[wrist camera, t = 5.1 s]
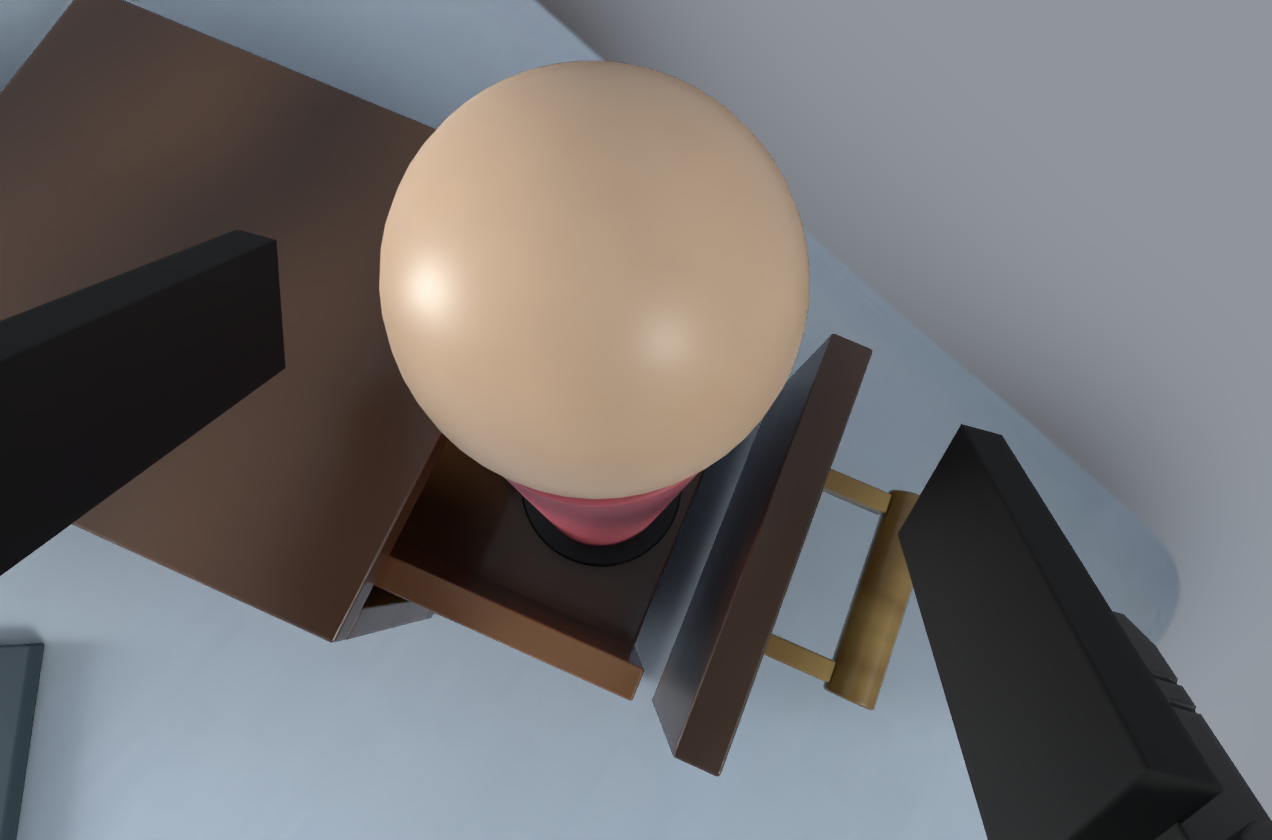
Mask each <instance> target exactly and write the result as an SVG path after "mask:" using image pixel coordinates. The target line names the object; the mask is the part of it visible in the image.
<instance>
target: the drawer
mask: <svg viewBox="0 0 1272 840" xmlns="http://www.w3.org/2000/svg"><path fill="white" fill-rule="evenodd" d="M871 355H872V350H871V349H870V348H867V347H865V346H862V345H860V344H858V343H855V342H853V341H850V340H848V339H845V338H843V337H841V336H838V335H836V334H832V335H831V336H830V337H829V338H828V339H827V340H826V341H825V342H824V343H823V344H822V345H821V346H820V347H819V348H818V350H817V351H816V352H815V353H814V354H813V355H812V356H811V357H810V358H809V359H808V360H807V361H806V362H805V363H804V364H803V365H802V366H801V367H800V368H799V369H798V370H797V371H796V373H795V374H794V375H793V376H792V377H791V378H790V379H789V380H788V381H787V382H786V383H785V385H784V387H783V389H782V390H781V392H780V393H779V395H778V396H777V398H776V399H775V401H774V402H773V404H772V405H771V407H770V409H769V410H768V412H767V413H766V414H765V416H764V417H763V419H762V422H761V424H760V427H759V429H758V432H757V434H756V437H755V439H754V442H753V444H752V447H751V450H750V452H749V455H748V457H747V460H746V462H745V465H744V467H743V470H742V472H741V475H740V478H739V480H738V483H737V485H736V488H735V490H734V493H733V495H732V498H731V500H730V503H729V506H728V508H727V511H726V513H725V516H724V518H723V521H722V523H721V526H720V528H719V531H718V534H717V536H716V539H715V541H714V544H713V546H712V549H711V551H710V554H709V556H708V559H707V562H706V564H705V567H704V569H703V572H702V574H701V577H700V579H699V582H698V584H697V587H696V590H695V592H694V595H693V597H692V600H691V602H690V605H689V607H688V610H687V612H686V615H685V618H684V620H683V623H682V625H681V628H680V630H679V633H678V635H677V638H676V640H675V643H674V646H673V648H672V651H671V653H670V656H669V658H668V661H667V663H666V666H665V668H664V671H663V674H662V676H661V679H660V681H659V684H658V686H657V689H656V691H655V694H654V696H653V699H652V701H653V704H654V707H655V709H656V712H657V715H658V717H659V720H660V722H661V725H662V728H663V730H664V733H665V736H666V738H667V741H668V744H669V746H670V749H671V751H672V754H673V756H674V757H675V758H677V759H679V760H682V761H684V762H686V763H688V764H690V765H693V766H695V767H697V768H699V769H701V770H704V771H706V772H708V773H710V774H713V775H715V776H720V774H721V772H722V769H723V766H724V764H725V761H726V758H727V755H728V752H729V750H730V747H731V744H732V741H733V739H734V736H735V733H736V730H737V727H738V725H739V722H740V719H741V716H742V714H743V711H744V708H745V705H746V702H747V700H748V697H749V694H750V691H751V688H752V686H753V683H754V680H755V677H756V675H757V672H758V669H759V666H760V663H761V661H762V658H763V655H766V656H768V657H771V658H773V659H775V660H777V661H780V662H782V663H784V664H786V665H789V666H791V667H793V668H796V669H798V670H800V671H802V672H805V673H807V674H809V675H811V676H814V677H816V678H818V679H820V680H823V681H825V682H824V685H823V687H824V689H825V690H827V691H829V692H831V693H833V694H835V695H837V696H840V697H842V698H844V699H846V700H848V701H850V702H853V703H855V704H857V705H859V706H862V707H864V708H866V709H869V710H874V708H875V705H876V702H877V699H878V696H879V692H880V689H881V686H882V683H883V680H884V677H885V673H886V670H887V667H888V664H889V661H890V658H891V654H892V651H893V648H894V645H895V642H896V638H897V635H898V632H899V629H900V626H901V623H902V619H903V616H904V613H905V610H906V607H907V603H908V600H909V597H910V594H911V591H912V588H913V585H912V581H911V578H910V574H909V571H908V568H907V564H906V561H905V558H904V554H903V551H902V547H901V544H900V541H899V537H898V532H899V531H900V529H901V527H902V526H903V524H904V522H905V520H906V519H907V517H908V515H909V514H910V512H911V510H912V508H913V507H914V505H915V503H916V501H917V500H918V498H919V496H920V495H917V494H914V493H911V492H907V491H901V490H891V491H889V492H888V493H887V492H884V491H882V490H879V489H877V488H875V487H872V486H870V485H868V484H865V483H863V482H861V481H858V480H856V479H854V478H851V477H849V476H847V475H844V474H842V473H840V472H837V471H835V470H833V469H831V466H832V463H833V460H834V458H835V455H836V452H837V449H838V447H839V444H840V441H841V438H842V435H843V433H844V430H845V427H846V424H847V422H848V419H849V416H850V413H851V410H852V408H853V405H854V402H855V399H856V396H857V394H858V391H859V388H860V385H861V383H862V380H863V377H864V374H865V371H866V369H867V366H868V363H869V360H870V358H871ZM705 470H706V469H704V470H702V471H701V472H699V473H698V474H697V475H696V476H695V477H694V478H693V479H692V480H691V481H690V482H689V483H688V485H687V486H686V487H685V488H684V489H683V490H682V493H681V500H680V505H679V509H678V512H677V515H676V517H675V519H674V521H673V524H672V526H671V527H670V529H669V530H668V532H667V533H666V535H665V536H664V537H663V538H662V539H661V540H660V542H659V543H658V544H656V545H655V546H654V547H653V548H652V549H651V550H649V551H648V552H646V553H645V554H643V555H642V556H640V557H638V558H636V559H634V560H632V561H629V562H626V563H623V564H620V565H614V566H605V567H597V566H588V565H583V564H579V563H576V562H574V561H571V560H568V559H567V558H565V557H563V556H561V555H559V554H558V553H556V552H555V551H553V550H552V549H551V548H549V547H548V546H547V545H546V544H545V543H544V542H543V541H542V540H541V538H540V537H539V536H538V535H537V534H536V532H535V530H534V529H533V527H532V526H531V524H530V522H529V519H528V517H527V515H526V512H525V508H524V505H523V499H522V494H521V493H520V492H519V491H518V490H517V489H516V488H514V487H513V486H512V485H511V484H510V483H509V482H508V481H507V480H506V479H505V478H504V477H503V476H501V475H499V474H497V473H495V472H493V471H491V470H489V469H487V468H486V467H484V466H482V465H481V464H479V463H478V462H477V461H475V460H474V459H472V458H471V457H469V456H468V455H467V454H465V453H464V452H462V451H461V450H460V449H459V448H458V447H457V446H456V445H454V444H453V443H452V442H451V441H450V440H449V439H448V440H447V442H446V444H445V446H444V448H443V450H442V452H441V454H440V456H439V458H438V460H437V462H436V464H435V466H434V468H433V470H432V472H431V474H430V476H429V478H428V480H427V482H426V484H425V486H424V488H423V489H422V491H421V493H420V495H419V497H418V499H417V501H416V503H415V505H414V507H413V509H412V511H411V513H410V515H409V517H408V519H407V521H406V523H405V525H404V527H403V529H402V531H401V533H400V535H399V537H398V538H397V540H396V542H395V544H394V546H393V548H392V550H391V552H390V554H389V556H388V558H387V560H386V562H385V564H384V566H383V568H382V570H381V572H380V574H379V576H378V578H377V580H376V582H375V584H374V586H377V587H379V588H381V589H383V590H385V591H388V592H390V593H392V594H394V595H396V596H399V597H401V598H403V599H405V600H408V601H410V602H412V603H414V604H416V605H419V606H421V607H423V608H425V609H428V610H430V611H432V612H434V613H436V614H439V615H441V616H443V617H445V618H448V619H450V620H452V621H454V622H456V623H459V624H461V625H463V626H465V627H468V628H470V629H472V630H474V631H476V632H479V633H481V634H483V635H485V636H487V637H490V638H492V639H494V640H496V641H499V642H501V643H503V644H505V645H507V646H510V647H512V648H514V649H516V650H519V651H521V652H523V653H525V654H527V655H530V656H532V657H534V658H536V659H539V660H541V661H543V662H545V663H547V664H550V665H552V666H554V667H556V668H559V669H561V670H563V671H565V672H567V673H570V674H572V675H574V676H576V677H579V678H581V679H583V680H585V681H587V682H590V683H592V684H594V685H596V686H598V687H601V688H603V689H605V690H607V691H610V692H612V693H614V694H616V695H618V696H621V697H623V698H625V699H627V700H632V699H633V697H634V695H635V692H636V690H637V687H638V685H639V682H640V680H641V677H642V675H643V672H644V668H643V666H642V663H641V661H640V658H639V656H638V654H637V651H636V649H635V646H634V645H635V642H636V640H637V637H638V635H639V632H640V630H641V627H642V625H643V622H644V620H645V617H646V615H647V613H648V610H649V608H650V605H651V603H652V600H653V598H654V595H655V593H656V590H657V588H658V586H659V583H660V581H661V578H662V576H663V573H664V571H665V568H666V566H667V563H668V561H669V558H670V556H671V554H672V551H673V549H674V546H675V544H676V541H677V539H678V536H679V534H680V531H681V529H682V527H683V524H684V522H685V519H686V517H687V514H688V512H689V509H690V507H691V504H692V502H693V499H694V497H695V495H696V492H697V490H698V487H699V485H700V482H701V480H702V477H703V475H704V472H705ZM822 491H823V492H826V493H828V494H830V495H833V496H835V497H837V498H840V499H842V500H844V501H847V502H849V503H851V504H854V505H856V506H858V507H861V508H863V509H865V510H868V511H870V512H873V513H875V514H881V515H880V518H879V521H878V524H877V527H876V530H875V533H874V536H873V539H872V542H871V545H870V548H869V551H868V554H867V557H866V560H865V563H864V566H863V569H862V572H861V575H860V578H859V581H858V584H857V587H856V590H855V593H854V596H853V599H852V602H851V605H850V608H849V611H848V614H847V617H846V620H845V623H844V626H843V629H842V632H841V635H840V638H839V641H838V644H837V647H836V650H835V653H834V656H833V659H832V660H831V659H829V658H826V657H824V656H822V655H819V654H817V653H815V652H813V651H810V650H808V649H806V648H804V647H801V646H799V645H797V644H795V643H792V642H790V641H788V640H785V639H783V638H781V637H779V636H776V635H774V634H772V630H773V627H774V625H775V622H776V619H777V616H778V613H779V611H780V608H781V605H782V602H783V599H784V597H785V594H786V591H787V588H788V586H789V583H790V580H791V577H792V574H793V572H794V569H795V566H796V563H797V561H798V558H799V555H800V552H801V549H802V547H803V544H804V541H805V538H806V536H807V533H808V530H809V527H810V524H811V522H812V519H813V516H814V513H815V511H816V508H817V505H818V502H819V499H820V497H821V494H822Z"/></svg>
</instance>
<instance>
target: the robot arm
mask: <svg viewBox="0 0 1272 840" xmlns="http://www.w3.org/2000/svg"><path fill="white" fill-rule="evenodd" d="M285 368H286V366H285V352H284V338H283V324H282V310H281V296H280V282H279V268H278V255H277V241H276V240H275V239H272V238H268V237H264V236H261V235H257V234H253V233H249V232H246V231H242V230H238V229H236V230H233V231H231V232H228V233H226V234H223V235H221V236H218V237H215V238H213V239H210V240H208V241H205V242H202V243H200V244H197V245H195V246H192V247H190V248H187V249H184V250H182V251H179V252H177V253H174V254H172V255H169V256H166V257H164V258H161V259H159V260H156V261H153V262H151V263H148V264H146V265H143V266H141V267H138V268H135V269H133V270H130V271H128V272H125V273H122V274H120V275H117V276H115V277H112V278H110V279H107V280H104V281H102V282H99V283H97V284H94V285H92V286H89V287H86V288H84V289H81V290H79V291H76V292H73V293H71V294H68V295H66V296H63V297H61V298H58V299H55V300H53V301H50V302H48V303H45V304H43V305H40V306H37V307H35V308H32V309H30V310H27V311H24V312H22V313H19V314H17V315H14V316H12V317H9V318H6V319H4V320H1V321H0V576H1V575H2V574H3V573H5V572H6V571H8V570H9V569H10V568H12V567H13V566H14V565H16V564H17V563H19V562H20V561H21V560H23V559H24V558H25V557H27V556H28V555H30V554H31V553H32V552H34V551H35V550H36V549H38V548H39V547H41V546H42V545H43V544H45V543H46V542H47V541H49V540H50V539H52V538H53V537H54V536H56V535H57V534H58V533H60V532H61V531H62V530H64V529H65V528H67V527H68V526H69V525H71V524H72V523H73V522H75V521H76V520H78V519H79V518H80V517H82V516H83V515H84V514H86V513H87V512H89V511H90V510H91V509H93V508H94V507H95V506H97V505H98V504H100V503H101V502H102V501H104V500H105V499H106V498H108V497H109V496H111V495H112V494H113V493H115V492H116V491H117V490H119V489H120V488H122V487H123V486H124V485H126V484H127V483H128V482H130V481H131V480H133V479H134V478H135V477H137V476H138V475H139V474H141V473H142V472H144V471H145V470H146V469H148V468H149V467H150V466H152V465H153V464H155V463H156V462H157V461H159V460H160V459H161V458H163V457H164V456H165V455H167V454H168V453H170V452H171V451H172V450H174V449H175V448H176V447H178V446H179V445H181V444H182V443H183V442H185V441H186V440H187V439H189V438H190V437H192V436H193V435H194V434H196V433H197V432H198V431H200V430H201V429H203V428H204V427H205V426H207V425H208V424H209V423H211V422H212V421H214V420H215V419H216V418H218V417H219V416H220V415H222V414H223V413H225V412H226V411H227V410H229V409H230V408H231V407H233V406H234V405H236V404H237V403H238V402H240V401H241V400H242V399H244V398H245V397H247V396H248V395H249V394H251V393H252V392H253V391H255V390H256V389H257V388H259V387H260V386H262V385H263V384H264V383H266V382H267V381H268V380H270V379H271V378H273V377H274V376H275V375H277V374H278V373H279V372H281V371H282V370H284V369H285ZM898 537H899V541H900V544H901V547H902V551H903V554H904V558H905V561H906V564H907V568H908V571H909V574H910V578H911V581H912V585H913V588H914V591H915V595H916V598H917V602H918V605H919V608H920V612H921V615H922V618H923V622H924V625H925V629H926V632H927V635H928V639H929V642H930V645H931V649H932V652H933V656H934V659H935V662H936V666H937V669H938V673H939V676H940V679H941V683H942V686H943V689H944V693H945V696H946V700H947V703H948V706H949V710H950V713H951V716H952V720H953V723H954V727H955V730H956V733H957V737H958V740H959V743H960V747H961V750H962V754H963V757H964V760H965V764H966V767H967V771H968V774H969V777H970V781H971V784H972V787H973V791H974V794H975V798H976V801H977V804H978V808H979V811H980V814H981V818H982V821H983V825H984V828H985V831H986V835H987V838H988V840H1272V821H1271V820H1270V818H1269V817H1268V815H1267V814H1266V812H1265V811H1264V809H1263V808H1262V806H1261V804H1260V803H1259V801H1258V800H1257V799H1256V797H1255V795H1254V794H1253V792H1252V791H1251V789H1250V788H1249V787H1248V785H1247V783H1246V782H1245V780H1244V779H1243V777H1242V776H1241V774H1240V773H1239V772H1238V770H1237V768H1236V767H1235V765H1234V764H1233V762H1232V761H1231V759H1230V758H1229V756H1228V755H1227V753H1226V752H1225V750H1224V749H1223V747H1222V746H1221V744H1220V742H1219V741H1218V740H1217V738H1216V736H1215V735H1214V734H1213V732H1212V730H1211V729H1210V727H1209V726H1208V724H1207V723H1206V721H1205V720H1204V718H1203V717H1202V716H1201V714H1197V713H1196V712H1195V708H1196V706H1195V705H1194V703H1193V702H1192V700H1191V699H1190V697H1189V696H1188V694H1187V693H1186V691H1185V690H1184V688H1183V687H1182V686H1180V685H1177V677H1176V676H1175V674H1174V673H1173V671H1172V670H1171V668H1170V667H1169V665H1168V664H1167V662H1166V661H1165V659H1164V658H1163V657H1162V655H1161V654H1160V652H1159V650H1158V649H1157V647H1156V646H1155V645H1154V644H1153V643H1152V642H1151V641H1150V640H1149V639H1148V638H1147V637H1146V636H1145V635H1144V634H1143V633H1142V632H1141V631H1140V630H1139V629H1138V628H1137V627H1136V626H1135V625H1134V624H1133V623H1132V622H1131V621H1130V620H1129V619H1128V618H1127V617H1126V616H1125V615H1124V614H1120V613H1117V612H1113V611H1112V610H1111V609H1110V607H1109V605H1108V604H1107V602H1106V601H1105V599H1104V597H1103V596H1102V594H1101V593H1100V591H1099V589H1098V588H1097V586H1096V585H1095V583H1094V582H1093V580H1092V578H1091V577H1090V575H1089V574H1088V572H1087V570H1086V569H1085V567H1084V566H1083V564H1082V562H1081V561H1080V559H1079V558H1078V556H1077V554H1076V553H1075V551H1074V550H1073V548H1072V546H1071V545H1070V543H1069V542H1068V540H1067V538H1066V537H1065V535H1064V534H1063V532H1062V530H1061V529H1060V527H1059V526H1058V524H1057V522H1056V521H1055V519H1054V518H1053V516H1052V514H1051V513H1050V511H1049V510H1048V508H1047V506H1046V505H1045V503H1044V502H1043V500H1042V498H1041V497H1040V495H1039V494H1038V492H1037V490H1036V489H1035V487H1034V486H1033V484H1032V482H1031V481H1030V479H1029V478H1028V476H1027V475H1026V473H1025V471H1024V470H1023V468H1022V467H1021V465H1020V463H1019V462H1018V460H1017V459H1016V457H1015V455H1014V454H1013V452H1012V451H1011V449H1010V447H1009V446H1008V444H1007V443H1006V441H1005V439H1004V438H1003V436H1002V435H999V434H996V433H992V432H988V431H985V430H981V429H977V428H973V427H970V426H966V425H962V424H961V426H960V427H959V429H958V431H957V433H956V434H955V436H954V438H953V440H952V441H951V443H950V445H949V446H948V448H947V450H946V452H945V453H944V455H943V457H942V458H941V460H940V462H939V464H938V465H937V467H936V469H935V471H934V472H933V474H932V476H931V477H930V479H929V481H928V483H927V484H926V486H925V488H924V489H923V491H922V493H921V495H920V496H919V498H918V500H917V501H916V503H915V505H914V507H913V508H912V510H911V512H910V514H909V515H908V517H907V519H906V520H905V522H904V524H903V526H902V527H901V529H900V531H899V532H898Z"/></svg>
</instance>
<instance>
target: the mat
mask: <svg viewBox="0 0 1272 840" xmlns="http://www.w3.org/2000/svg"><path fill="white" fill-rule="evenodd" d="M43 650H44V644H42V643H41V644H22V645H4V646H0V840H16V836H17V829H18V822H19V815H20V808H21V802H22V795H23V788H24V781H25V774H26V767H27V760H28V753H29V746H30V740H31V733H32V726H33V719H34V712H35V705H36V698H37V691H38V685H39V678H40V671H41V664H42V657H43Z"/></svg>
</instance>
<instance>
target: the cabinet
mask: <svg viewBox="0 0 1272 840" xmlns="http://www.w3.org/2000/svg"><path fill="white" fill-rule="evenodd" d="M435 131H436V129H434V128H431V127H429V126H427V125H424V124H422V123H419V122H417V121H414V120H412V119H410V118H407V117H405V116H402V115H400V114H397V113H395V112H393V111H390V110H388V109H385V108H383V107H381V106H378V105H376V104H373V103H371V102H368V101H366V100H364V99H361V98H359V97H356V96H354V95H351V94H349V93H347V92H344V91H342V90H339V89H337V88H334V87H332V86H330V85H327V84H325V83H322V82H320V81H318V80H315V79H313V78H310V77H308V76H305V75H303V74H301V73H298V72H296V71H293V70H291V69H288V68H286V67H284V66H281V65H279V64H276V63H274V62H271V61H269V60H267V59H264V58H262V57H259V56H257V55H254V54H252V53H250V52H247V51H245V50H242V49H240V48H238V47H235V46H233V45H230V44H228V43H225V42H223V41H221V40H218V39H216V38H213V37H211V36H208V35H206V34H204V33H201V32H199V31H196V30H194V29H191V28H189V27H187V26H184V25H182V24H179V23H177V22H174V21H172V20H170V19H167V18H165V17H162V16H160V15H158V14H155V13H153V12H150V11H148V10H145V9H143V8H141V7H138V6H136V5H133V4H131V3H128V2H126V1H124V0H73V2H72V3H71V4H70V5H69V7H68V8H67V9H66V11H65V12H64V13H63V14H62V16H61V17H60V18H59V19H58V21H57V22H56V23H55V25H54V26H53V27H52V28H51V30H50V31H49V32H48V33H47V35H46V36H45V37H44V39H43V40H42V41H41V42H40V44H39V45H38V46H37V47H36V49H35V50H34V51H33V53H32V54H31V55H30V56H29V58H28V59H27V60H26V61H25V63H24V64H23V65H22V67H21V68H20V69H19V70H18V72H17V73H16V74H15V75H14V77H13V78H12V79H11V81H10V82H9V83H8V84H7V86H6V87H5V88H4V89H3V91H2V92H1V93H0V321H1V320H4V319H6V318H9V317H12V316H14V315H17V314H19V313H22V312H24V311H27V310H30V309H32V308H35V307H37V306H40V305H43V304H45V303H48V302H50V301H53V300H55V299H58V298H61V297H63V296H66V295H68V294H71V293H73V292H76V291H79V290H81V289H84V288H86V287H89V286H92V285H94V284H97V283H99V282H102V281H104V280H107V279H110V278H112V277H115V276H117V275H120V274H122V273H125V272H128V271H130V270H133V269H135V268H138V267H141V266H143V265H146V264H148V263H151V262H153V261H156V260H159V259H161V258H164V257H166V256H169V255H172V254H174V253H177V252H179V251H182V250H184V249H187V248H190V247H192V246H195V245H197V244H200V243H202V242H205V241H208V240H210V239H213V238H215V237H218V236H221V235H223V234H226V233H228V232H231V231H233V230H236V229H238V230H242V231H246V232H249V233H253V234H257V235H261V236H264V237H268V238H272V239H275V240H276V241H277V255H278V268H279V282H280V296H281V310H282V324H283V338H284V352H285V366H286V368H285V369H284V370H282V371H281V372H279V373H278V374H277V375H275V376H274V377H273V378H271V379H270V380H268V381H267V382H266V383H264V384H263V385H262V386H260V387H259V388H257V389H256V390H255V391H253V392H252V393H251V394H249V395H248V396H247V397H245V398H244V399H242V400H241V401H240V402H238V403H237V404H236V405H234V406H233V407H231V408H230V409H229V410H227V411H226V412H225V413H223V414H222V415H220V416H219V417H218V418H216V419H215V420H214V421H212V422H211V423H209V424H208V425H207V426H205V427H204V428H203V429H201V430H200V431H198V432H197V433H196V434H194V435H193V436H192V437H190V438H189V439H187V440H186V441H185V442H183V443H182V444H181V445H179V446H178V447H176V448H175V449H174V450H172V451H171V452H170V453H168V454H167V455H165V456H164V457H163V458H161V459H160V460H159V461H157V462H156V463H155V464H153V465H152V466H150V467H149V468H148V469H146V470H145V471H144V472H142V473H141V474H139V475H138V476H137V477H135V478H134V479H133V480H131V481H130V482H128V483H127V484H126V485H124V486H123V487H122V488H120V489H119V490H117V491H116V492H115V493H113V494H112V495H111V496H109V497H108V498H106V499H105V500H104V501H102V502H101V503H100V504H98V505H97V506H95V507H94V508H93V509H91V510H90V511H89V512H87V513H86V514H84V515H83V516H82V517H80V518H79V519H78V520H76V521H75V522H73V523H72V524H73V525H75V526H77V527H79V528H81V529H84V530H86V531H88V532H90V533H92V534H95V535H97V536H99V537H101V538H103V539H106V540H108V541H110V542H112V543H114V544H116V545H119V546H121V547H123V548H125V549H127V550H130V551H132V552H134V553H136V554H138V555H141V556H143V557H145V558H147V559H149V560H152V561H154V562H156V563H158V564H160V565H162V566H165V567H167V568H169V569H171V570H173V571H176V572H178V573H180V574H182V575H184V576H187V577H189V578H191V579H193V580H195V581H198V582H200V583H202V584H204V585H206V586H208V587H211V588H213V589H215V590H217V591H219V592H222V593H224V594H226V595H228V596H230V597H233V598H235V599H237V600H239V601H241V602H244V603H246V604H248V605H250V606H252V607H254V608H257V609H259V610H261V611H263V612H265V613H268V614H270V615H272V616H274V617H276V618H279V619H281V620H283V621H285V622H287V623H290V624H292V625H294V626H296V627H298V628H300V629H303V630H305V631H307V632H309V633H311V634H314V635H316V636H318V637H320V638H322V639H325V640H327V641H329V642H337V641H341V640H345V639H351V638H354V637H358V636H362V635H366V634H370V633H374V632H378V631H381V630H385V629H389V628H393V627H397V626H401V625H405V624H408V623H412V622H416V621H420V620H424V619H427V618H431V617H432V616H433V614H434V612H432V611H430V610H428V609H425V608H423V607H421V606H419V605H416V604H414V603H412V602H410V601H408V600H405V599H403V598H401V597H399V596H396V595H394V594H392V593H390V592H388V591H385V590H383V589H381V588H379V587H377V586H374V584H375V582H376V580H377V578H378V576H379V574H380V572H381V570H382V568H383V566H384V564H385V562H386V560H387V558H388V556H389V554H390V552H391V550H392V548H393V546H394V544H395V542H396V540H397V538H398V537H399V535H400V533H401V531H402V529H403V527H404V525H405V523H406V521H407V519H408V517H409V515H410V513H411V511H412V509H413V507H414V505H415V503H416V501H417V499H418V497H419V495H420V493H421V491H422V489H423V488H424V486H425V484H426V482H427V480H428V478H429V476H430V474H431V472H432V470H433V468H434V466H435V464H436V462H437V460H438V458H439V456H440V454H441V452H442V450H443V448H444V446H445V444H446V442H447V440H448V438H447V437H446V436H445V435H444V434H443V433H442V432H441V431H440V430H439V429H438V428H437V426H436V425H435V424H434V423H433V422H432V420H431V419H430V418H429V417H428V415H427V414H426V413H425V412H424V410H423V409H422V408H421V406H420V405H419V404H418V403H417V401H416V399H415V398H414V396H413V394H412V393H411V391H410V389H409V388H408V386H407V384H406V383H405V381H404V379H403V377H402V375H401V373H400V370H399V368H398V365H397V363H396V361H395V358H394V356H393V353H392V350H391V347H390V344H389V340H388V336H387V332H386V328H385V325H384V321H383V317H382V310H381V300H380V291H379V280H380V252H381V245H382V239H383V234H384V228H385V223H386V220H387V217H388V214H389V211H390V208H391V205H392V202H393V199H394V197H395V194H396V191H397V189H398V186H399V184H400V182H401V180H402V178H403V176H404V174H405V172H406V170H407V168H408V166H409V165H410V163H411V162H412V160H413V159H414V157H415V156H416V154H417V153H418V151H419V150H420V148H421V147H422V145H423V144H424V143H425V142H426V141H427V140H428V138H429V137H430V136H431V135H432V134H433V133H434V132H435Z"/></svg>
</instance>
